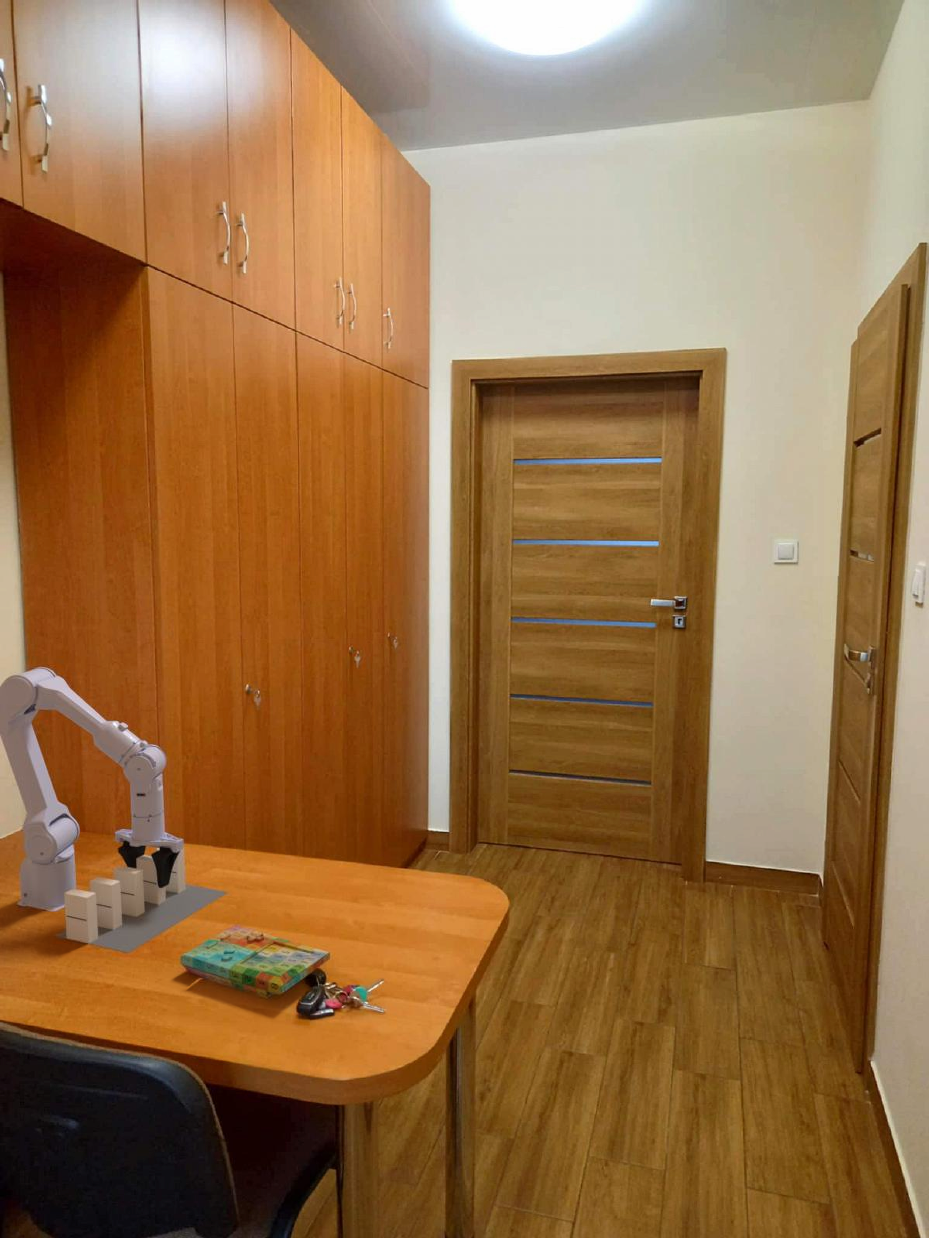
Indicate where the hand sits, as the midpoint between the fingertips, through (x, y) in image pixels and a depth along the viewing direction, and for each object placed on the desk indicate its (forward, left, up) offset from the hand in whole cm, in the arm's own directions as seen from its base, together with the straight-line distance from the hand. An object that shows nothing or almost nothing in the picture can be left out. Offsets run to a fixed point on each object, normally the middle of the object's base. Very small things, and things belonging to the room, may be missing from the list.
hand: (150, 883), depth 165 cm
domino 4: (0, 0, -3) cm, 3 cm away
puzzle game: (+34, -15, -4) cm, 37 cm away
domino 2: (0, -11, -3) cm, 11 cm away
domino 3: (0, -6, -3) cm, 6 cm away
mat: (+3, -4, -4) cm, 7 cm away
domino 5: (0, +6, -3) cm, 6 cm away
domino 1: (0, -16, -3) cm, 17 cm away
